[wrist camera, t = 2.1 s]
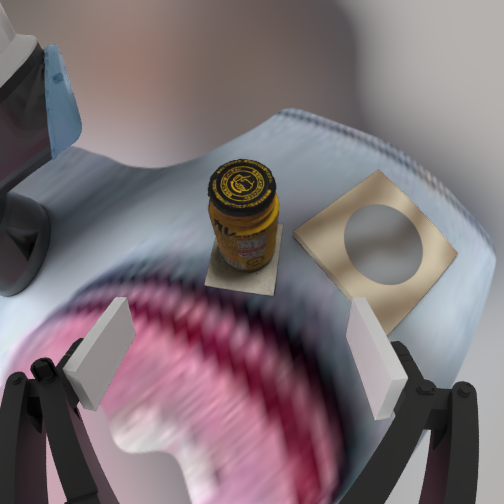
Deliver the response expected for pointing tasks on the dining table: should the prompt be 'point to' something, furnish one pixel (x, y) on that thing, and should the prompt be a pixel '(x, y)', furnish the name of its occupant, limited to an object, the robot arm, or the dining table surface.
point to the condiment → (244, 228)
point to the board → (378, 248)
